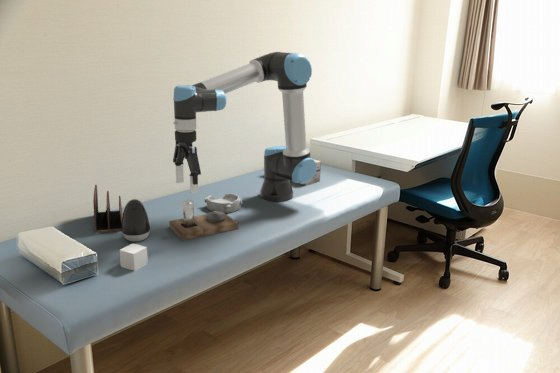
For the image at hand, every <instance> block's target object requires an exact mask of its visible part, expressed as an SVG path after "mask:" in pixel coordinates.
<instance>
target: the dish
mask: <svg viewBox="0 0 560 373" xmlns="http://www.w3.org/2000/svg"><path fill="white" fill-rule="evenodd" d="M203 199H204V200H203V201H204V203H206V207H207V209H208V210H209V211H210V212H213V211H217V212H221V211H222V212H223V213H225V214H227V213H228V214H229V213H233V212H235V211H237V210H239V209H240V207H241V205H242V204H243V199H242V198H240V196H239V194H238V195H237V194H236V193H231V192H230V193H229V192H227V193H225V194H224V195H223V197H221V198H215V197H214V196H213V195H211V194H210V195H208V196H207V197H204V198H203Z"/></svg>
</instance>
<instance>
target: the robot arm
mask: <svg viewBox="0 0 560 373" xmlns="http://www.w3.org/2000/svg"><path fill="white" fill-rule="evenodd" d="M312 73H313V68H312V64H311V61H310V60H309V58H307V57H306V56H305V55H303V54H299V53H296V52H283V51H274V52H270V53H267V54H264V55H262V56H261V55H260V56H259V57H257V58H256V57H255V58H253V59H251V60H250V61H249V63H247V64H245V65H242V66H239V67H237V68H235V69H232V70H229V71H226V72H223V73H221V74H218V75H216V76H213V77H210V78H209V79H205V80H203V81H200V82H198V83H195V84H192V85H190V84H187V85H186V84H185V85H184V84H183V85H180V84H179V85H176V86H175V87H174V88H173V98H172V100H173V113H174V118H173V119H174V121H173V123H172V124H173V125H174V129H175V131H174V140H175V146H174V153H173V158H172V163H174V165H175V183H176V184H181V183H184V178H185V177H184V160H185V159H186V161H187V165H188V167H189V168H188V169H189V172H190V173H189V183H190V184H189V191H190V194H195V193H199V175H200V176H201V175H202V172H201V167H200V162H199V158H198V157H199V156H198V148H197V146H193V143H194V142H196V141H197V113H205V112H206V113H207V112H217V111H221V110H222V111H223V110H224V109H225V108H226V105H227V96H226V94H229V93H231V92H233V91H236V90H239V89H240V88H243V87H246V86H248V85H250V84H253V83H259V84H260V83H262V82H265V81H267V82H268V81H274V82H277V89H278V90H279V91H280V92H281V95H282V108H283V109H282V110H283V111H282V112H283V122H284V123H283V124H284V126H283V127H284V138H285V140H284V141H285V145H276V146H268V147H267V148H265V149H264V152H263V153H264V155H263V181H262V184H261V188H260V190H259V197H260V198H261V199H263V200H265V201H269V202H284V201H289V200H292V199H293V198H294V191H293V188H292V184H291V181H293V182H292V183H295V184H298V183H300V184H299V185H302V184H304V183H307V182H309V181H310V180H311V179H312V178H313V176H314V175H315V172H316V167H317V166H316V162H315V161H314V160H315V159H314V158H312V157H311V150H310V148H308V147H307V138H306V120H305V119H306V118H305V115H306V114H305V98H304V91H305V89H307V86H308V82H309V81H310V78H311V77H312ZM313 159H314V160H313ZM290 180H291V181H290ZM292 197H293V198H292Z"/></svg>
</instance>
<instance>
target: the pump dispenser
mask: <svg viewBox="0 0 560 373" xmlns="http://www.w3.org/2000/svg"><path fill="white" fill-rule="evenodd" d="M151 229H152V228H151V222H150V218H149V215H148V212H147V210H146V207H145V205H144V204H143V202H142V201H141V200H139V199H136V198H133V199H130V200H129V201H127V202H126V205H125V207H124V209H123V211H122V224H121V231H120V232H121V233H122V235H123V238H125V239H126V240H127V241H129V242H132V243H137V242H142V241H145V239H147V238H148V237H149V234H150V231H151Z"/></svg>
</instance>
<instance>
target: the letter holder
mask: <svg viewBox="0 0 560 373" xmlns="http://www.w3.org/2000/svg"><path fill="white" fill-rule="evenodd" d="M98 201H99V199H98V185H97V184H95V185H94V191H93V201H92V202H93V218H94V219H93V222H94V233H95V234H101V233H114V232H121V224H122V217H123V208H122V207H123V206H122V198H121V195H118V208H119V210H111V204H110V203H111V202H110V192H109V190H107V191H106V205H105V206H106V210H105V211H99V202H98Z"/></svg>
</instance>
